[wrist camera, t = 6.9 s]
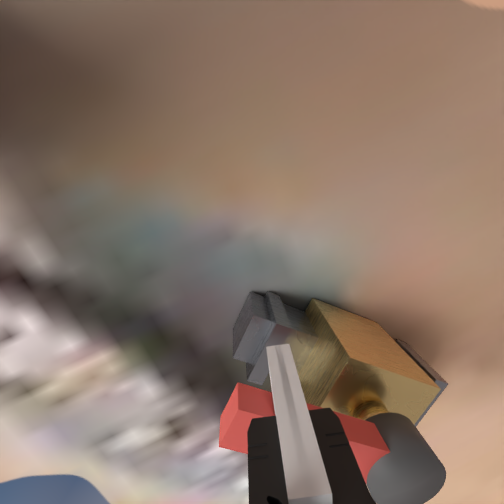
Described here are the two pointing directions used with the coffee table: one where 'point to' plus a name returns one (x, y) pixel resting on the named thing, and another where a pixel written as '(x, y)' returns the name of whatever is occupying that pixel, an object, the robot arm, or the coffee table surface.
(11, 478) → the coffee table surface
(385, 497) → the lever
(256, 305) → the valve
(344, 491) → the robot arm
